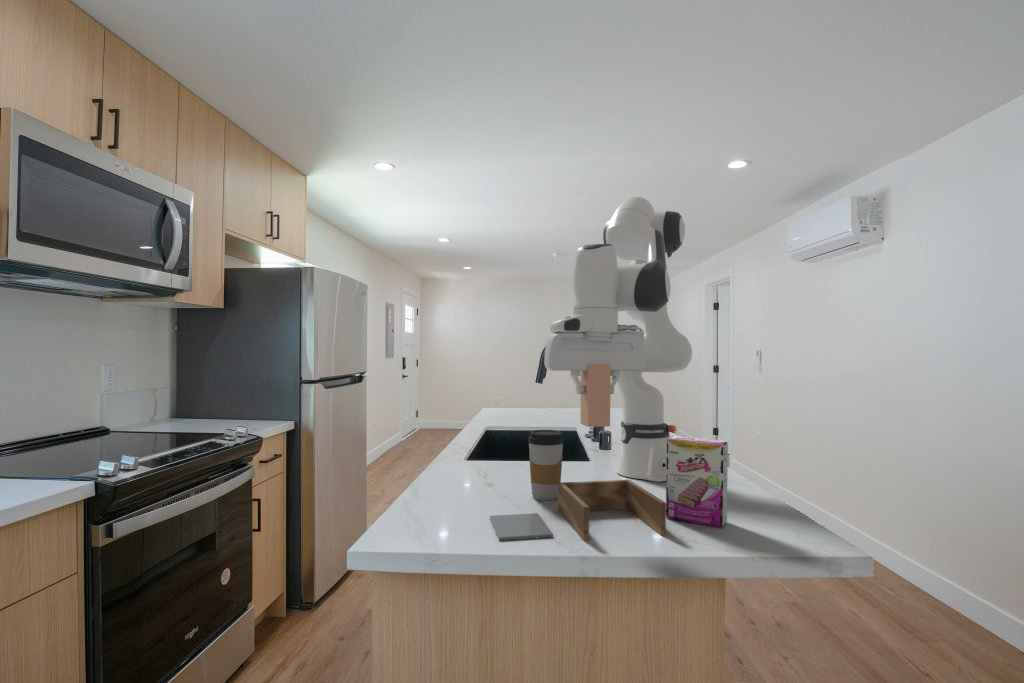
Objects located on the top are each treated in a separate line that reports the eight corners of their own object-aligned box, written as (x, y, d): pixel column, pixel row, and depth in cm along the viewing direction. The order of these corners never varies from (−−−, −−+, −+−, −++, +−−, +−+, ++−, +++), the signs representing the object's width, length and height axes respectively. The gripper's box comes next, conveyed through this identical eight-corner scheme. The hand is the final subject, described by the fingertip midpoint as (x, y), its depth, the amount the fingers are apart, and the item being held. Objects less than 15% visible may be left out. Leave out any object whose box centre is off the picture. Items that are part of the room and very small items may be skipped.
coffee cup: (561, 503, 115) (561, 436, 115) (524, 500, 117) (525, 434, 117) (565, 493, 123) (565, 430, 123) (530, 490, 125) (531, 428, 125)
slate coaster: (537, 516, 106) (537, 513, 106) (553, 537, 95) (553, 533, 95) (489, 518, 104) (489, 515, 104) (499, 540, 93) (499, 537, 93)
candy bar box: (665, 519, 105) (665, 438, 105) (671, 512, 109) (671, 434, 109) (723, 529, 99) (723, 444, 99) (728, 522, 103) (728, 440, 103)
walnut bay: (628, 507, 113) (628, 479, 113) (665, 535, 96) (665, 502, 96) (557, 510, 110) (558, 482, 110) (583, 540, 93) (583, 507, 93)
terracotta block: (601, 423, 105) (602, 364, 105) (610, 426, 100) (610, 364, 101) (580, 423, 104) (580, 364, 104) (588, 426, 99) (588, 364, 100)
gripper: (637, 326, 108) (637, 392, 107) (542, 324, 104) (541, 392, 103) (651, 324, 101) (650, 394, 101) (550, 322, 97) (550, 395, 97)
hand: (594, 393), depth 102 cm, fingers closed on terracotta block, 4 cm apart
